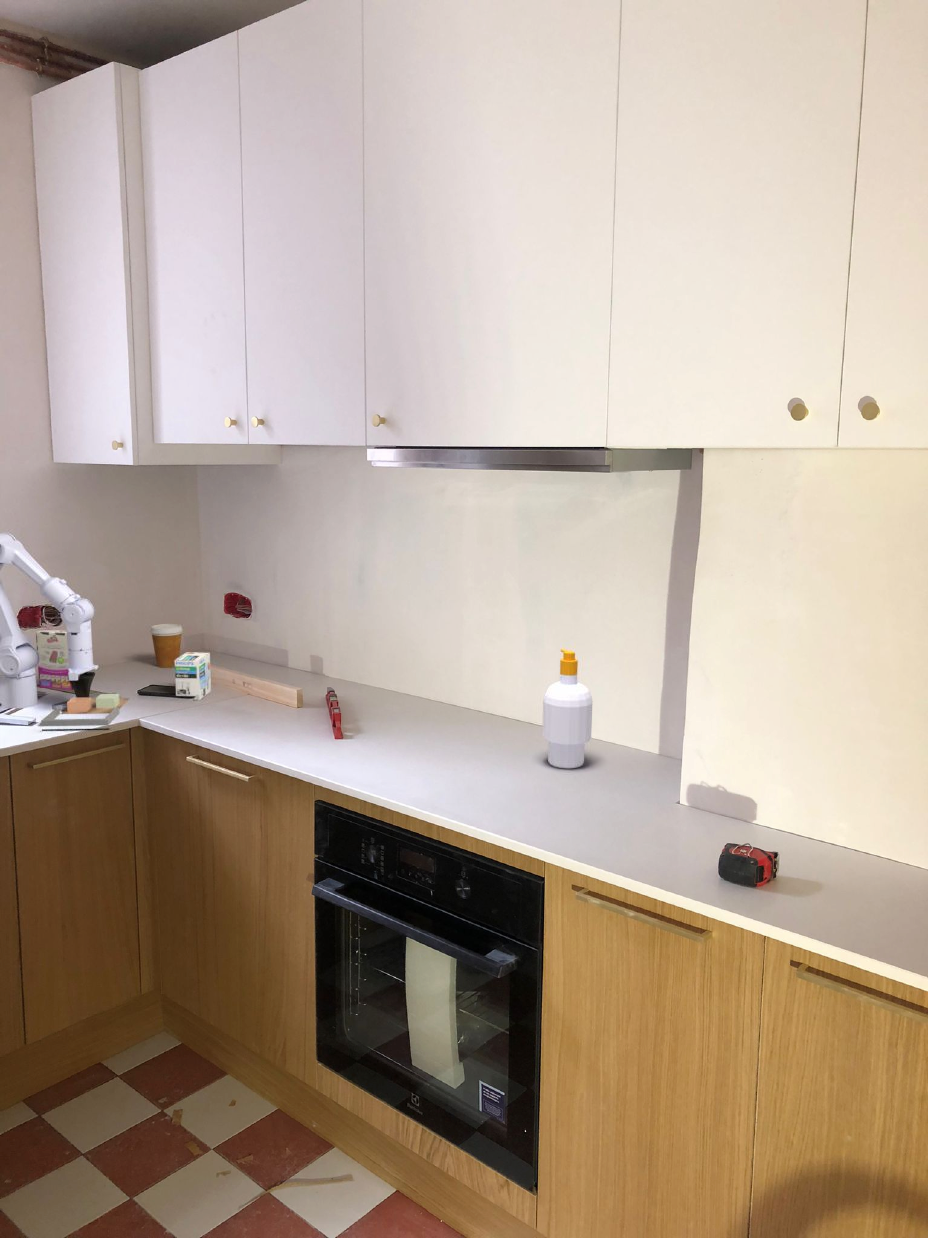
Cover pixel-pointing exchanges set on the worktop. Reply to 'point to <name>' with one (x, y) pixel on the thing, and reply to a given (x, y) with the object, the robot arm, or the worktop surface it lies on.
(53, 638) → the candy bar box
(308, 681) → the worktop surface
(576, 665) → the soap bottle
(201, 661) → the light bulb box
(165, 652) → the disposable coffee cup
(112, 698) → the sage-green tile
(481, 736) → the worktop surface
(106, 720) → the tray
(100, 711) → the walnut board
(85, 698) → the terracotta tile
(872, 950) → the worktop surface
